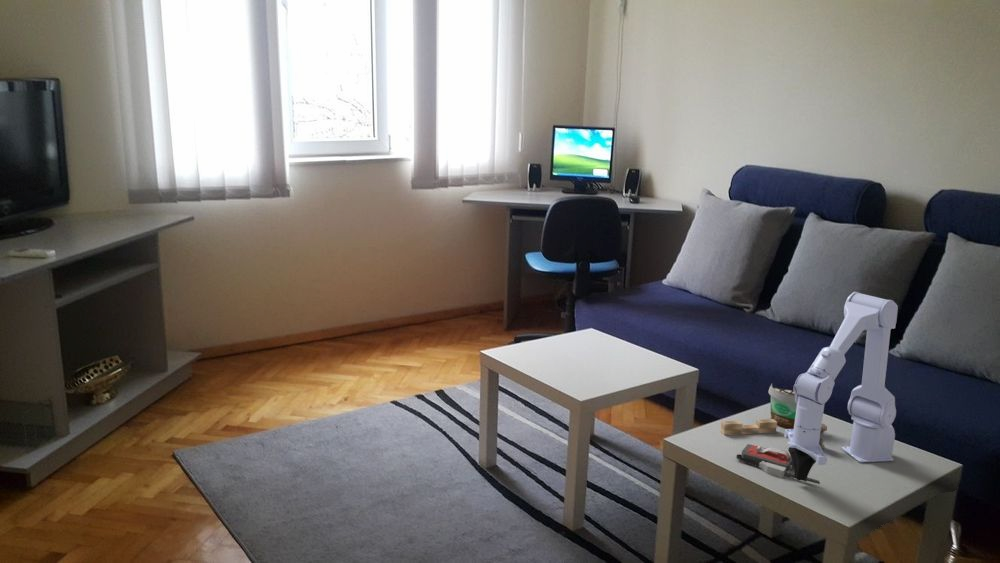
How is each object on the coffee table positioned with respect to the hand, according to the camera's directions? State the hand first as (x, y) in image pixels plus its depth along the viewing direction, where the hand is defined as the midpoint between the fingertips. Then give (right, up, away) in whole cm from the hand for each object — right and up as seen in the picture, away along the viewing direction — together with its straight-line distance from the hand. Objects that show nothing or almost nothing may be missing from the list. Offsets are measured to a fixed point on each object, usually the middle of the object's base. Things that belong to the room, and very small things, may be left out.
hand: (800, 478), depth 179 cm
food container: (+9, +6, +33) cm, 34 cm away
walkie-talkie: (-2, 0, +8) cm, 8 cm away
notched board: (-3, +6, +27) cm, 28 cm away
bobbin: (+12, +3, +20) cm, 24 cm away
